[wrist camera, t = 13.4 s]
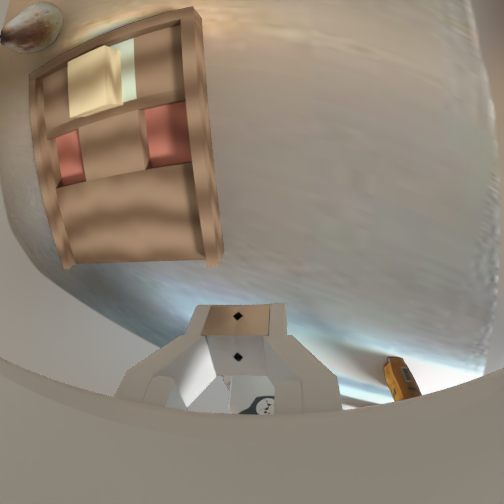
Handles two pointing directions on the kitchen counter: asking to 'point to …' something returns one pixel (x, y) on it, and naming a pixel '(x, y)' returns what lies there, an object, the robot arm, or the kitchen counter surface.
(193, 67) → the box
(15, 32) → the fruit
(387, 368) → the pancake mix bag
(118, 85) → the maple block
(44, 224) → the kitchen counter surface
